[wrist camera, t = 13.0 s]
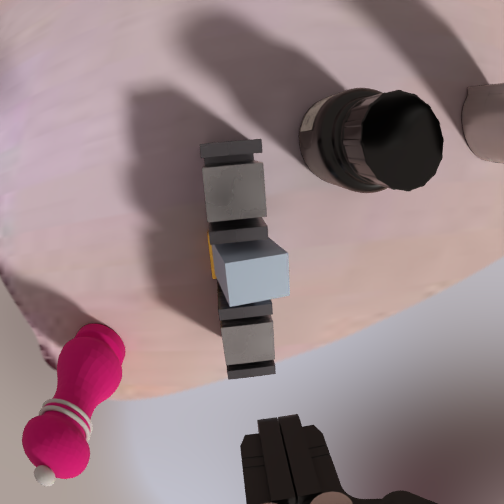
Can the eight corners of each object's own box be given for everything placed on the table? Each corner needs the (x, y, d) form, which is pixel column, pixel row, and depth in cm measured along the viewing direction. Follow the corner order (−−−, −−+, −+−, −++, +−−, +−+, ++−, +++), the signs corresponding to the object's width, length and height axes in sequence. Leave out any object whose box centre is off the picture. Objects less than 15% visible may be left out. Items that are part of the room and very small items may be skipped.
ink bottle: (373, 92, 29) (445, 74, 17) (389, 174, 31) (463, 192, 20) (283, 105, 28) (323, 81, 17) (303, 193, 31) (352, 221, 20)
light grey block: (210, 238, 30) (224, 263, 23) (261, 231, 31) (288, 253, 24) (215, 274, 31) (229, 306, 24) (263, 266, 32) (289, 295, 26)
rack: (199, 145, 29) (194, 144, 22) (251, 141, 29) (261, 138, 22) (221, 339, 35) (224, 379, 29) (265, 334, 36) (275, 373, 29)
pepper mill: (141, 346, 34) (101, 496, 16) (110, 378, 36) (68, 513, 17) (90, 307, 32) (10, 441, 13) (64, 344, 33) (-6, 468, 15)
